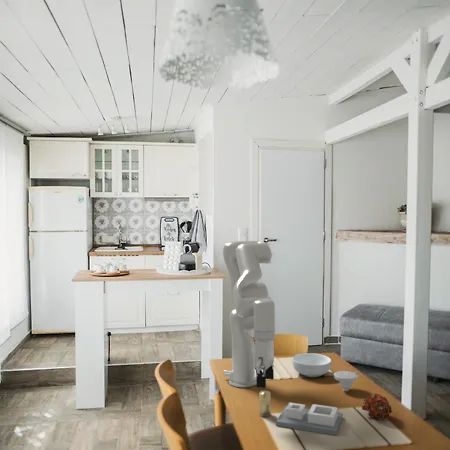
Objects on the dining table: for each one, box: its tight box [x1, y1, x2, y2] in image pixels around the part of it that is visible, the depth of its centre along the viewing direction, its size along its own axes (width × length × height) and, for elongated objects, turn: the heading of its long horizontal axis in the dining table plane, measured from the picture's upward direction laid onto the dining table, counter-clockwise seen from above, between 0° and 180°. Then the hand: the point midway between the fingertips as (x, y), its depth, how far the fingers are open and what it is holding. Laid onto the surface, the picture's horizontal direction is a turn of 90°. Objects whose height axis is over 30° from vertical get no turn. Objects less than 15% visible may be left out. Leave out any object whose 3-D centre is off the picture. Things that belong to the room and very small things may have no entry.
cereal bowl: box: [291, 352, 332, 378], centre depth 211 cm, size 17×17×7 cm
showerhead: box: [333, 370, 359, 392], centre depth 192 cm, size 9×7×10 cm
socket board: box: [275, 402, 343, 436], centre depth 163 cm, size 20×14×4 cm
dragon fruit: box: [361, 393, 393, 421], centre depth 167 cm, size 8×8×12 cm
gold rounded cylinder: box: [258, 390, 272, 418], centre depth 169 cm, size 4×4×8 cm
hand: (265, 383), depth 168 cm, fingers open, 9 cm apart
